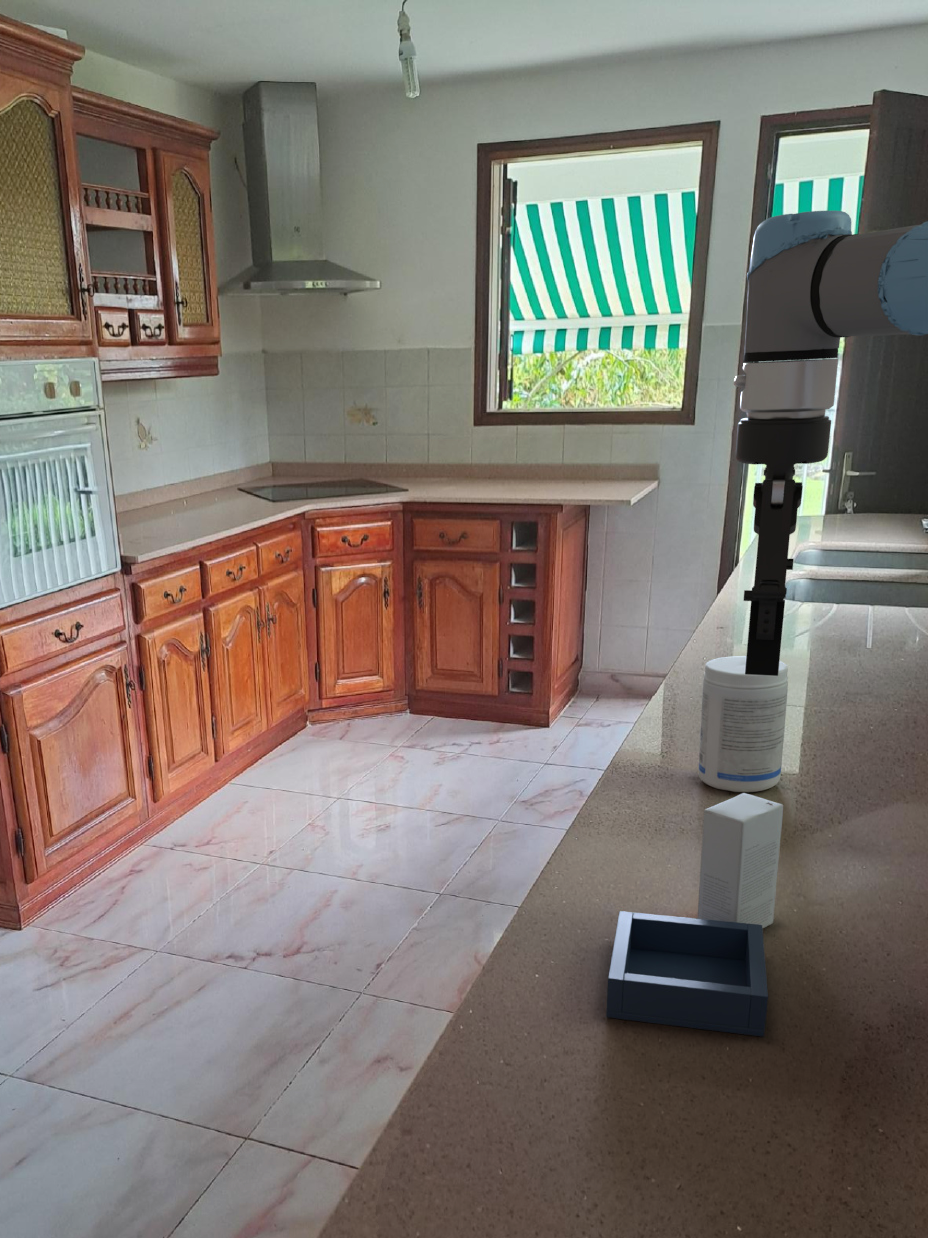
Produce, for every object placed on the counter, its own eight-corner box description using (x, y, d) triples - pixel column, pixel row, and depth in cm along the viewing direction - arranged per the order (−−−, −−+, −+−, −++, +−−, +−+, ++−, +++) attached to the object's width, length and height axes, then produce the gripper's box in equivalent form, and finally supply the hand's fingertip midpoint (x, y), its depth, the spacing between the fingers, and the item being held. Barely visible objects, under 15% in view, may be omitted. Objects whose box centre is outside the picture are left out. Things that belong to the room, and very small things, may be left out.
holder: (758, 961, 96) (762, 924, 95) (763, 1037, 86) (768, 996, 84) (617, 946, 100) (619, 910, 99) (606, 1017, 89) (607, 978, 88)
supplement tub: (796, 782, 135) (808, 665, 130) (745, 801, 130) (756, 679, 125) (730, 762, 143) (739, 650, 138) (679, 779, 138) (687, 664, 133)
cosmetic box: (733, 908, 106) (744, 791, 101) (773, 924, 102) (786, 804, 98) (693, 928, 102) (702, 808, 98) (733, 946, 99) (744, 822, 95)
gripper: (744, 408, 108) (727, 624, 115) (731, 424, 86) (712, 689, 94) (828, 406, 105) (805, 627, 113) (837, 421, 83) (808, 694, 91)
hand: (763, 655), depth 103 cm, fingers open, 13 cm apart
